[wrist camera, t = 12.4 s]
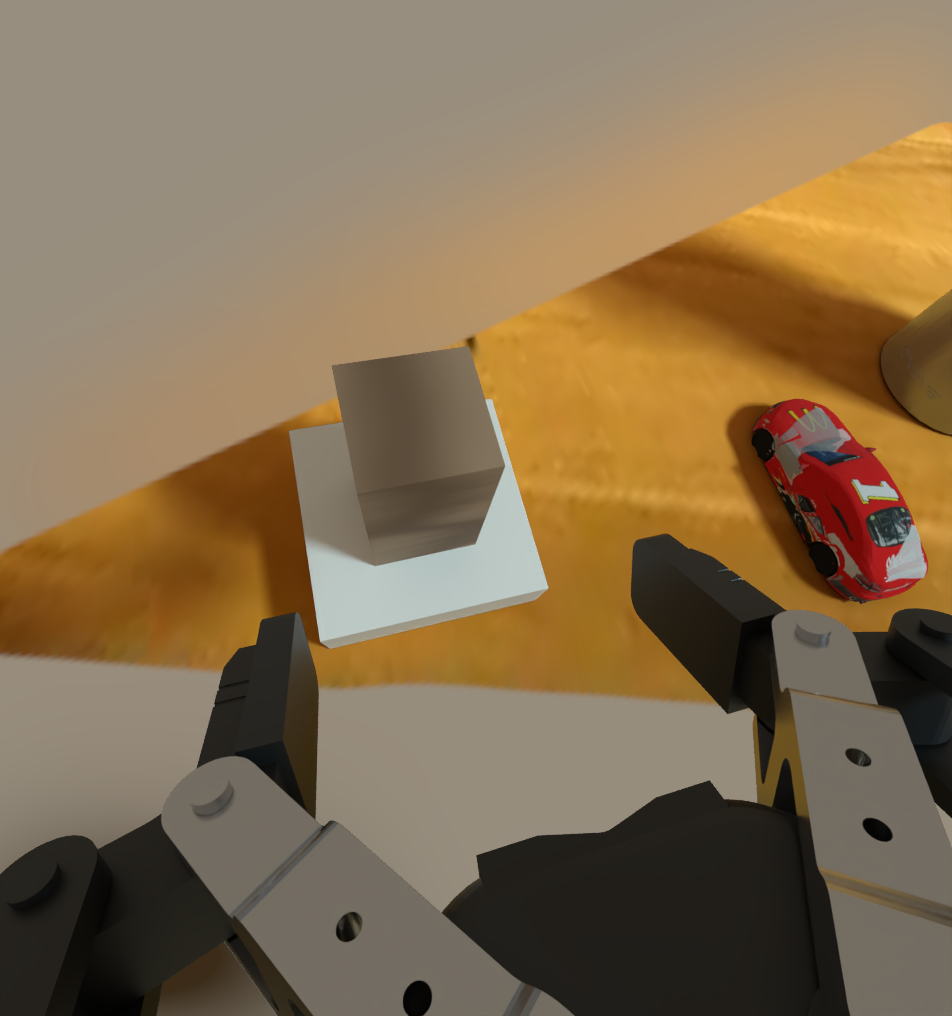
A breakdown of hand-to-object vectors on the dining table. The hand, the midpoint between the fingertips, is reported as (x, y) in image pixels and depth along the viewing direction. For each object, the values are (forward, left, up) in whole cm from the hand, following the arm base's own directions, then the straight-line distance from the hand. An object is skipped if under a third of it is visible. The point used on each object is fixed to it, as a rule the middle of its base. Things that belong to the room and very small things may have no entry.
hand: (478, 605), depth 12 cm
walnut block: (0, -7, -13) cm, 15 cm away
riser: (0, -7, -16) cm, 17 cm away
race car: (-25, -4, -16) cm, 30 cm away
